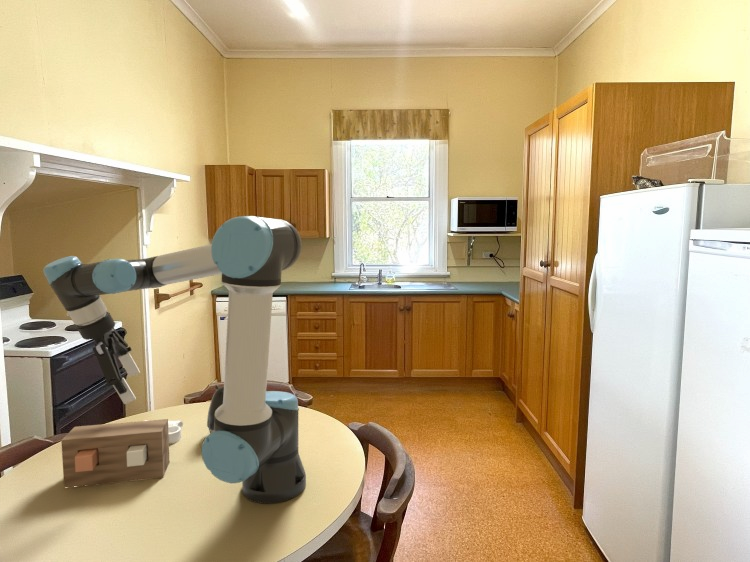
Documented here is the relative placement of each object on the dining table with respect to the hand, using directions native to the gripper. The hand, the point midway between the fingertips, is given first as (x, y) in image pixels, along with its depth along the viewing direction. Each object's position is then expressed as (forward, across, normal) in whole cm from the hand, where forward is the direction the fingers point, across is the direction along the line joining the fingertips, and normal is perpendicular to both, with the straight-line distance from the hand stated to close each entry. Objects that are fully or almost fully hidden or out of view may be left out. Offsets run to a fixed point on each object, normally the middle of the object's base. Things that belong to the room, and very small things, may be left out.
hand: (132, 387), depth 118 cm
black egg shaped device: (+30, -6, +14) cm, 34 cm away
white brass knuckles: (+25, -12, -6) cm, 28 cm away
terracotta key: (+10, +11, -14) cm, 20 cm away
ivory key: (+13, +12, -4) cm, 18 cm away
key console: (+17, +8, -10) cm, 22 cm away
